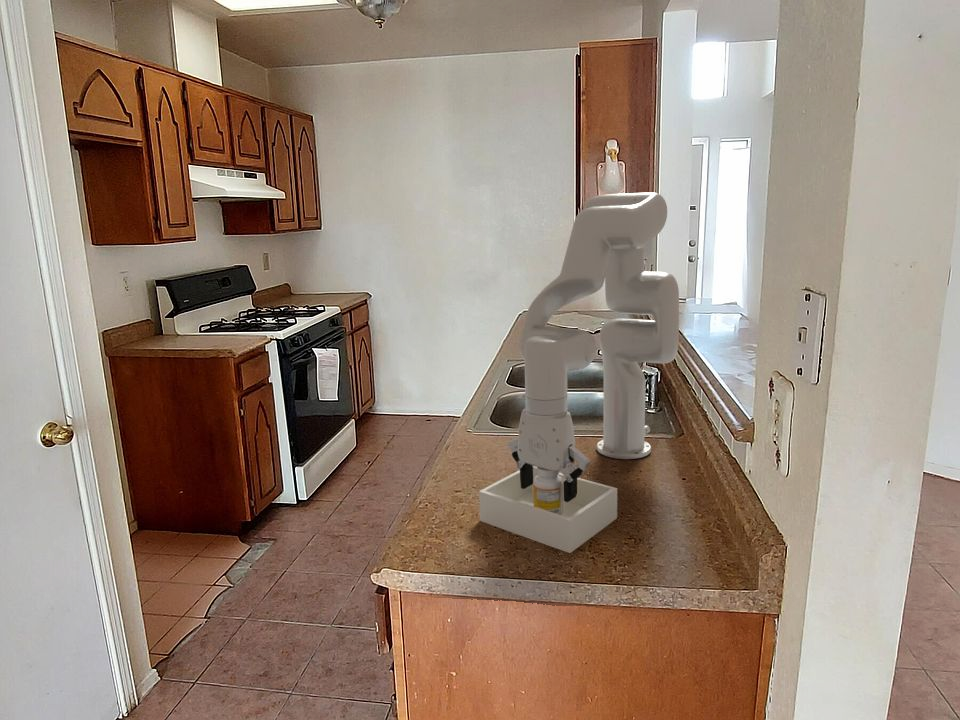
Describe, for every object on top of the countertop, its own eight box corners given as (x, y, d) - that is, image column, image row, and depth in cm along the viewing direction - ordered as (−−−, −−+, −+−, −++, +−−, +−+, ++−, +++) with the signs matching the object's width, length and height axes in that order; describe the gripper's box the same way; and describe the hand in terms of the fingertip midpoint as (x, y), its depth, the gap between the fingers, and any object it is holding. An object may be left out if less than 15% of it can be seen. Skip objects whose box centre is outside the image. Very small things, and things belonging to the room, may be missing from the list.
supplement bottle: (541, 506, 126) (540, 459, 124) (567, 512, 124) (567, 463, 121) (529, 518, 122) (528, 469, 120) (555, 524, 119) (555, 474, 117)
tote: (530, 491, 135) (529, 464, 134) (617, 518, 122) (617, 488, 121) (480, 520, 123) (478, 491, 122) (570, 553, 110) (569, 520, 109)
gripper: (496, 402, 120) (499, 488, 124) (576, 418, 109) (576, 512, 113) (520, 392, 126) (522, 475, 130) (599, 407, 115) (599, 497, 119)
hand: (548, 492), depth 122 cm, fingers open, 9 cm apart
